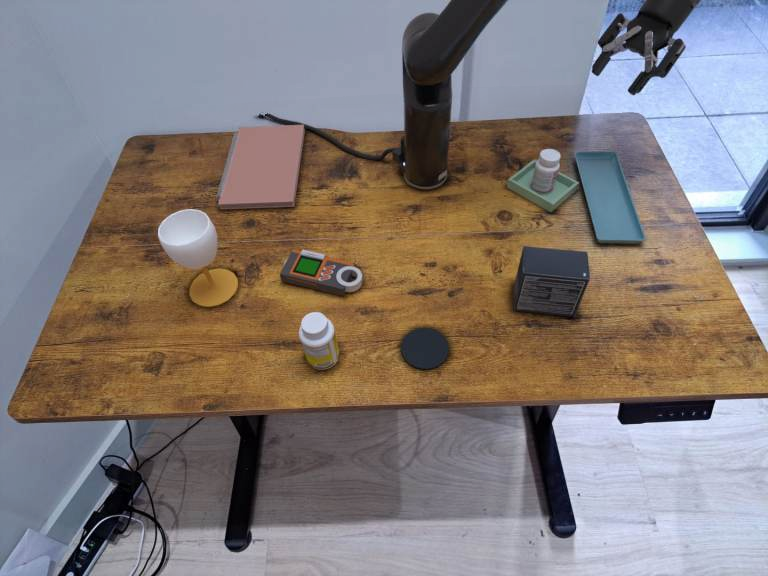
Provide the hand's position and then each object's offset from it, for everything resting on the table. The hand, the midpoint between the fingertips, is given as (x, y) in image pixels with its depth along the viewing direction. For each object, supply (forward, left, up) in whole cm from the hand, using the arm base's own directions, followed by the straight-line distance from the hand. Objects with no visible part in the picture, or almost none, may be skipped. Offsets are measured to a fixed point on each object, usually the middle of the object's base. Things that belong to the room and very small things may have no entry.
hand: (612, 83), depth 94 cm
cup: (-31, -74, -21) cm, 83 cm away
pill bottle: (-3, -10, -21) cm, 23 cm away
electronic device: (-18, -58, -21) cm, 64 cm away
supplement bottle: (-5, -69, -21) cm, 72 cm away
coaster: (+6, -56, -21) cm, 60 cm away
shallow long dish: (+8, -4, -21) cm, 23 cm away
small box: (+14, -34, -21) cm, 42 cm away
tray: (-3, -10, -21) cm, 24 cm away
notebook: (-53, -47, -21) cm, 74 cm away
